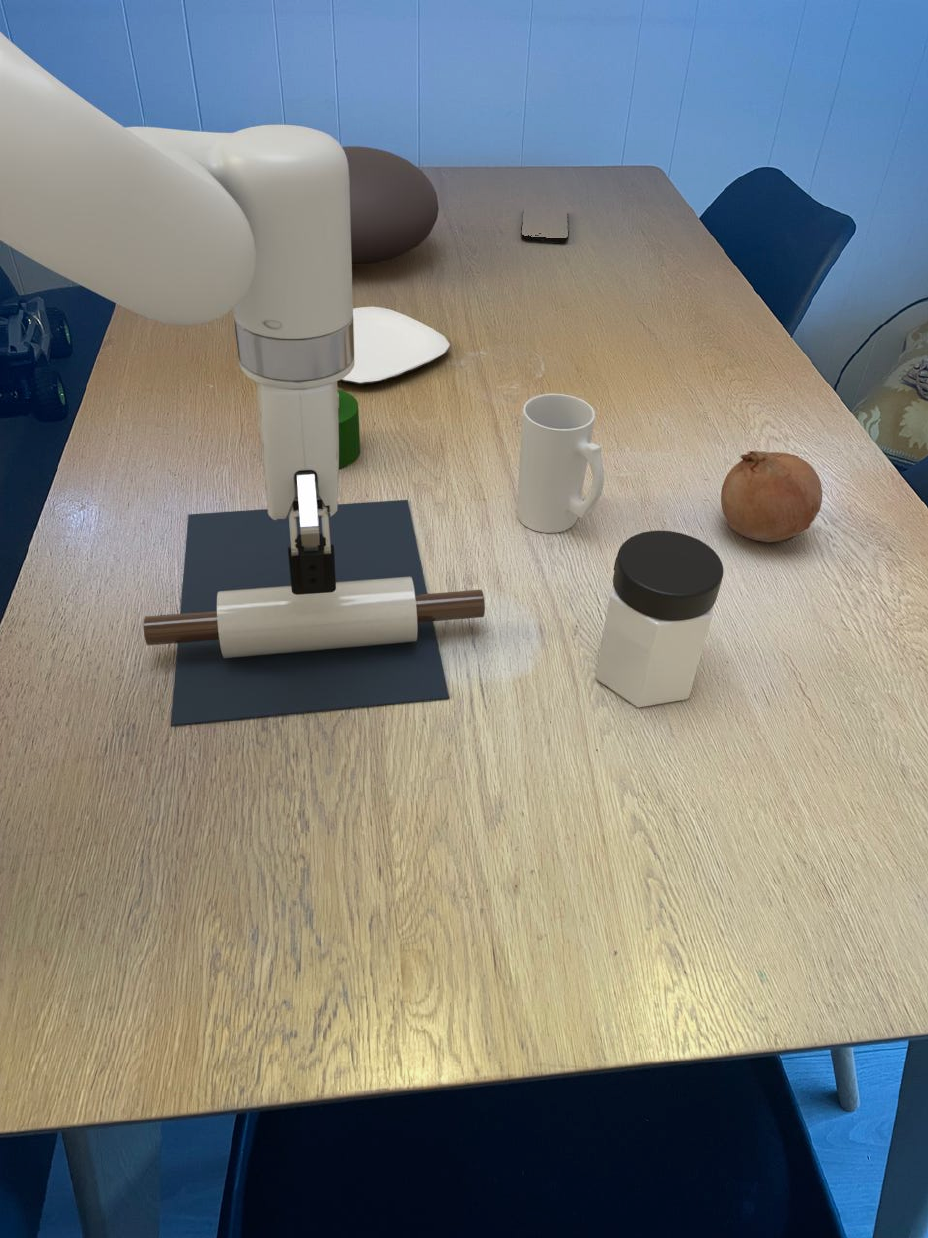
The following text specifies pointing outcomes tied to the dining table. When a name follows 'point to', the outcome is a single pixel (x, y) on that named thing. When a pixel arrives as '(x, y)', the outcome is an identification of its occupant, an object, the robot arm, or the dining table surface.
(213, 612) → the rolling pin
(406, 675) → the baking mat
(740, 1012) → the dining table surface
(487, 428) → the dining table surface
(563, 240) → the smartphone
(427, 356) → the plate
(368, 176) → the smooth stone
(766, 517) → the onion
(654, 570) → the jar
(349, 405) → the candle
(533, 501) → the mug
